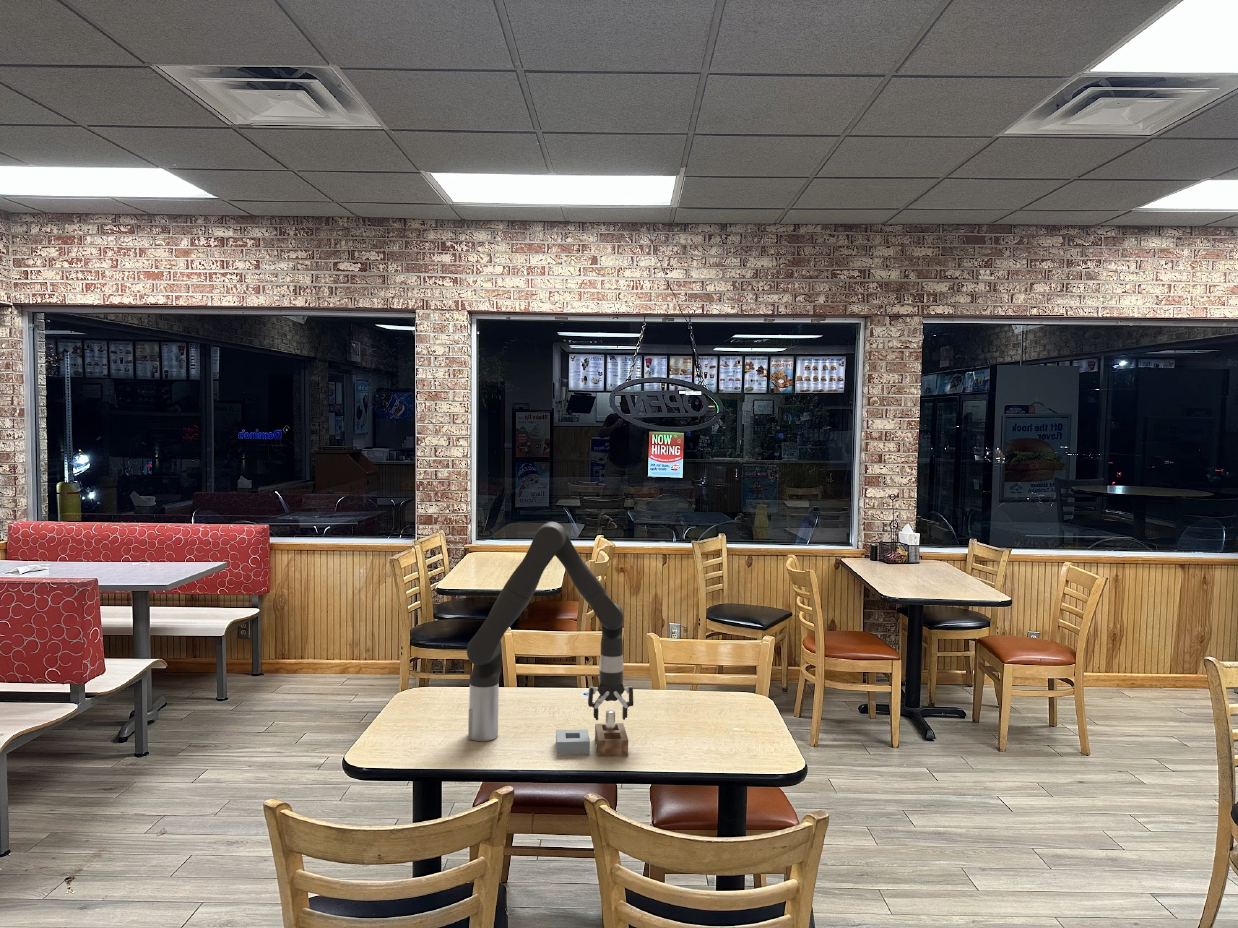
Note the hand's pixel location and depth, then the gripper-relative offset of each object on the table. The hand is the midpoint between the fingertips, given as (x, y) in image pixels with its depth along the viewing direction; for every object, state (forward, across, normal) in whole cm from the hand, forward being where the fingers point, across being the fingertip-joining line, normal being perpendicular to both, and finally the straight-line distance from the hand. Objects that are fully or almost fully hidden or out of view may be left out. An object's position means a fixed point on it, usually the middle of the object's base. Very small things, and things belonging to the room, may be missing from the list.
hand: (610, 719), depth 248 cm
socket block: (+8, -12, -4) cm, 15 cm away
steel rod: (+8, 0, 0) cm, 8 cm away
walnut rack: (+8, 0, -4) cm, 8 cm away
